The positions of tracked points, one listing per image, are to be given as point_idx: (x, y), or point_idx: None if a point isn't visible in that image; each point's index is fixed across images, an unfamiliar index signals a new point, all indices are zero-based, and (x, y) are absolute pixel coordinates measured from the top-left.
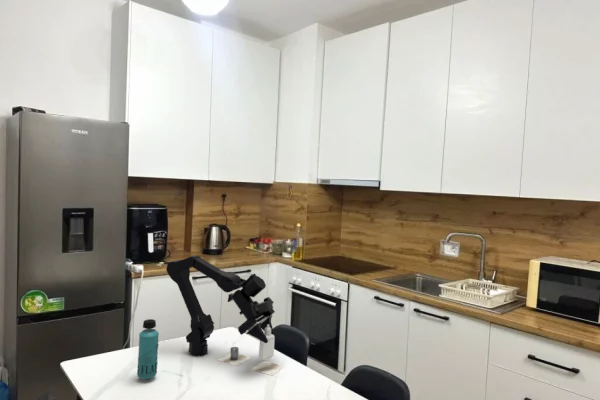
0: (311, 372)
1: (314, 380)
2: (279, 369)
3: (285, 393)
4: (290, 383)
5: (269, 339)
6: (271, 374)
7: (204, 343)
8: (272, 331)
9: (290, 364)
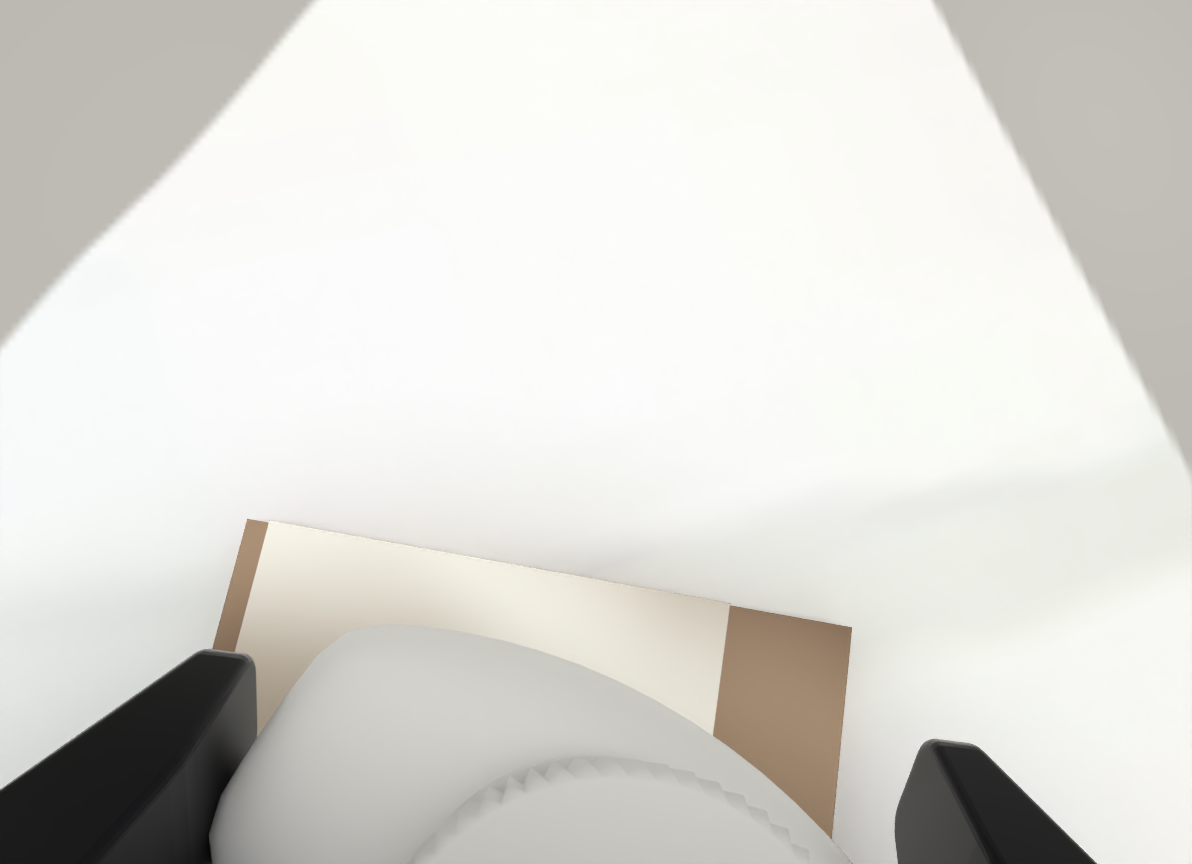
0: (268, 83)
1: (520, 4)
2: (447, 553)
3: (1058, 284)
4: (750, 292)
5: (732, 750)
6: (698, 629)
7: None
8: (136, 811)
9: (51, 467)
